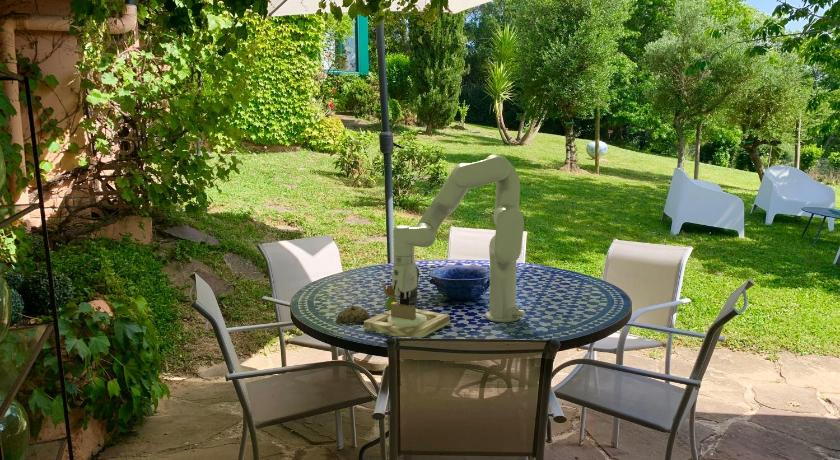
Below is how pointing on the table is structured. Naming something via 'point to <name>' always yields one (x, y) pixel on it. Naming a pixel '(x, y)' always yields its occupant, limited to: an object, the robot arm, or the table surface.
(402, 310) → the dial
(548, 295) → the table surface
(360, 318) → the bread roll
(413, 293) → the beverage cup
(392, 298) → the toy figurine
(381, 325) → the tray
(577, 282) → the table surface
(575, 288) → the table surface
